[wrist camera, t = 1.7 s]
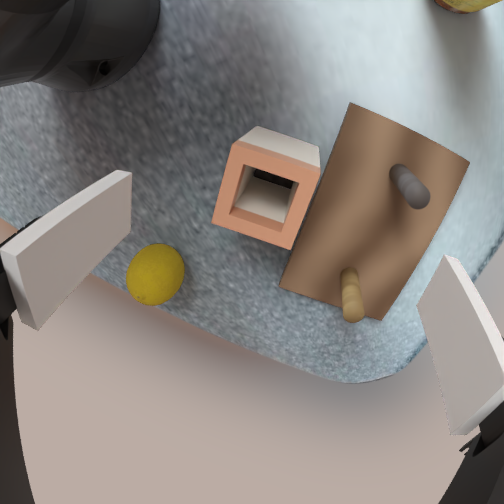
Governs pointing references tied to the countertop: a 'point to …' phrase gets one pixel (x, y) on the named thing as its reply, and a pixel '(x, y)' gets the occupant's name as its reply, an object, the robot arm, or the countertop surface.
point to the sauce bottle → (465, 5)
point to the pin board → (372, 215)
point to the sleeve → (267, 186)
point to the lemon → (155, 274)
